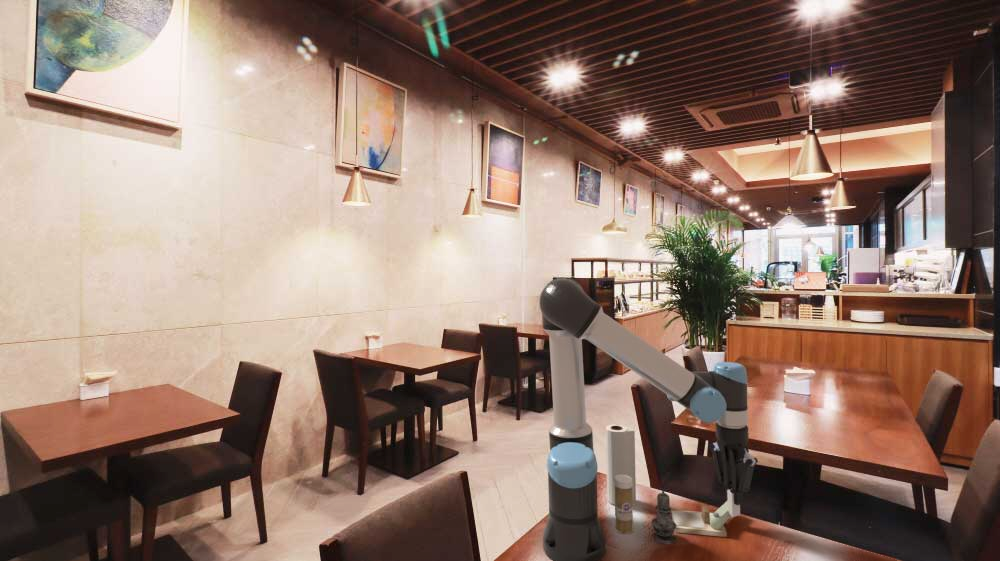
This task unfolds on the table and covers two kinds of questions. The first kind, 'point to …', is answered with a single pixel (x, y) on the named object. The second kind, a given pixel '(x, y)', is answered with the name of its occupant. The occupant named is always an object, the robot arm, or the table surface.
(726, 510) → the leg
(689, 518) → the board
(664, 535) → the grey stone chess piece
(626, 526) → the sprinkles bottle
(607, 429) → the paper towel roll
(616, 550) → the table surface
